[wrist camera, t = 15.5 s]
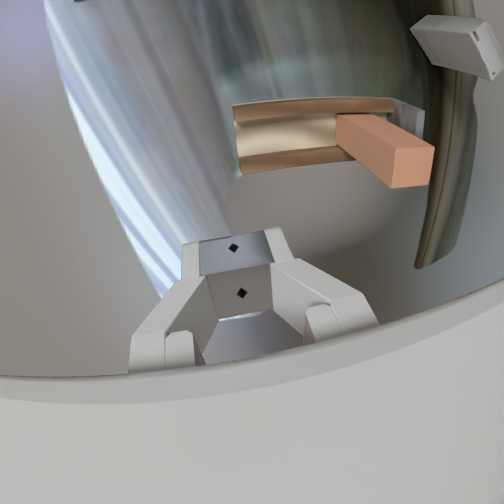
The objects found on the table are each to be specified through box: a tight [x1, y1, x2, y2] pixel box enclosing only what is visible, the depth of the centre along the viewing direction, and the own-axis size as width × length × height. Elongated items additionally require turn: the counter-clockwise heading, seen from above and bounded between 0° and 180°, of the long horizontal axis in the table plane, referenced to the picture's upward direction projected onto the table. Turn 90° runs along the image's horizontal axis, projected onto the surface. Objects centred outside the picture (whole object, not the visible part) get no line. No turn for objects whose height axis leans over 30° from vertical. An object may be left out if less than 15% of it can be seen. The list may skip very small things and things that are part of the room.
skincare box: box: [410, 15, 504, 81], centre depth 27 cm, size 8×6×15 cm
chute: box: [232, 97, 425, 174], centre depth 39 cm, size 10×26×9 cm, turn 96°
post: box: [336, 113, 435, 189], centre depth 36 cm, size 5×6×16 cm
